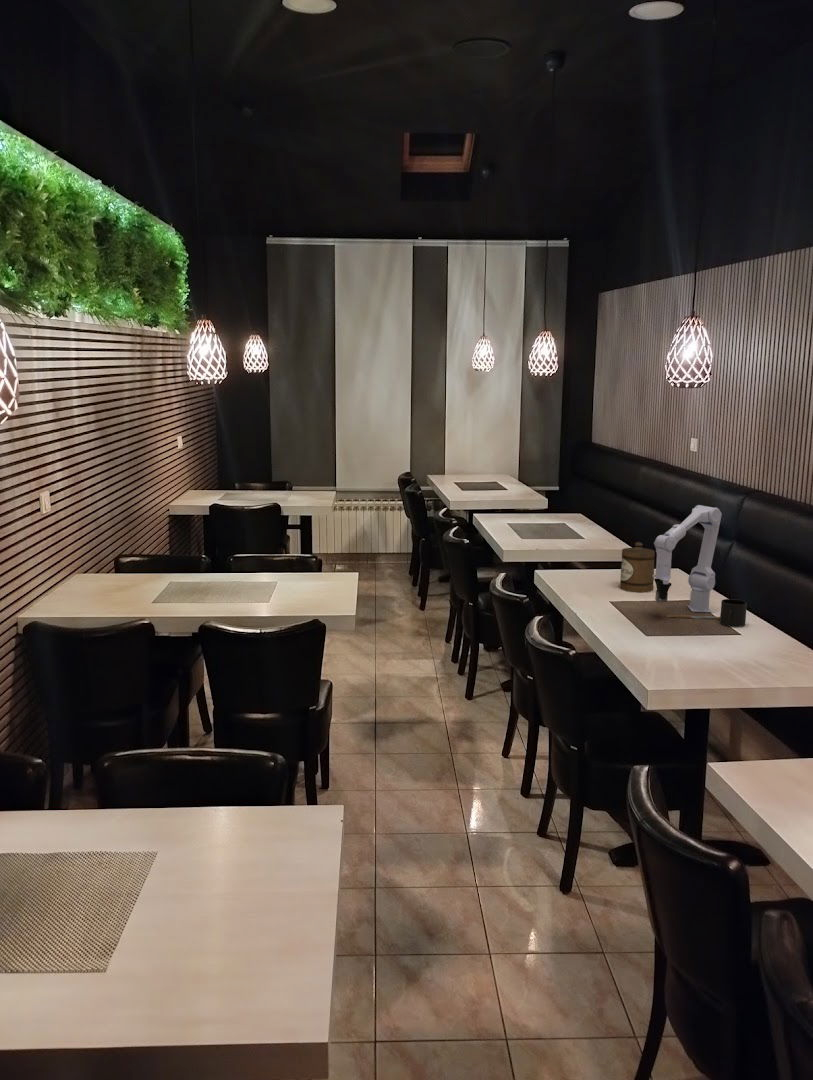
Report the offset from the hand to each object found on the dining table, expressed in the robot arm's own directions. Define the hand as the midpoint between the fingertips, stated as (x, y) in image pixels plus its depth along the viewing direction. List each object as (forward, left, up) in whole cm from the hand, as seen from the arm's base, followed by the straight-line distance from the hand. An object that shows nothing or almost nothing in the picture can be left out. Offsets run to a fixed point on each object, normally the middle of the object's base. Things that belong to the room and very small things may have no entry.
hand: (661, 597), depth 351 cm
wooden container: (-49, -3, -8) cm, 49 cm away
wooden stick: (0, +17, -8) cm, 19 cm away
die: (0, 0, -2) cm, 2 cm away
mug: (+7, +26, -8) cm, 29 cm away
